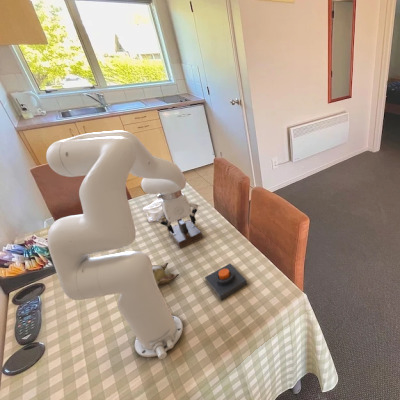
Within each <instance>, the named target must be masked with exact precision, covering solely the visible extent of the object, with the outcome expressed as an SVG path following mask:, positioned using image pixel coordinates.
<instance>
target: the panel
mask: <svg viewBox="0 0 400 400" xmlns="http://www.w3.org/2000/svg"><path fill="white" fill-rule="evenodd" d="M184 222H185V223H186V226H187V229H188V232H187V233H185V234H184V233H183V232H182V230H181V229H180V227H179V225H178V224H175V225H173V226H172V228H173V231H174V233H173V234H172V232H171V231H170V232H169V230H168V229H167V231H168V234H169V235H170V236H171V238H172V239H173V240H174V242H175V243H176V244H177V246H178V247H179V248H180V249H182V248H183V247H187V246H188V245H190V244H193V243H194V242H197V241H199V240H201V239H203V238H204V235H203V232H202V231H201V230H200V229H199V228H198V227H197V226H196V224H193V223H192V222H191V219H187V220H185V221H184Z"/></svg>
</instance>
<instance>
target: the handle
mask: <svg viewBox="0 0 400 400" xmlns="http://www.w3.org/2000/svg"><path fill="white" fill-rule="evenodd" d="M176 222H177V225H179V227H180V229H181V230H182V232H183V233H184V234H185V233H187V232H188V229H187V226H186V223H185V221H184V220H183V218H181V219H179V220H176Z"/></svg>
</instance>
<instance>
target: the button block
mask: <svg viewBox="0 0 400 400" xmlns="http://www.w3.org/2000/svg"><path fill="white" fill-rule="evenodd" d="M222 269H228V270H229V273H230V276H229V277H228V278H227V279H224V280H222V279H220V278H219V274H218V273H219V271H220V270H222ZM205 282H206V283H207V285H208V286H209V287H210V288H211V290H212V291H213V292H214V294H216V296H217V297H218V299H220V301H223V300H225V299H227V297H228V298H229V297H230V296H231V295H232V294H235V293H236V292H238V291H239V290H241V289H243V288H244V287H245V286H247V285H248V282H247V279H246V278H245V277H244V276H243V275H242V274H241V273H240V272H239V271H238V270H237V268H236V267H234V265H232V263H228V264H226V265H224V266H223V267H220V268H219V269H217V270H215V271H214V272H212V273H210V274H208V275H206V276H205Z"/></svg>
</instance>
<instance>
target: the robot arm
mask: <svg viewBox="0 0 400 400" xmlns="http://www.w3.org/2000/svg"><path fill="white" fill-rule="evenodd" d="M45 158H46V162H47V164H48V167H50V168H51V171H53V172H55V173H56V174H57V175H59V176H63V177H67V178H74V177H83V176H84V178H83V180H82V182H81V184H80V186H79V191H78V195H79V196H78V197H79V200H80V205H81V208H82V213H80V214H74V215H73V214H72V215H68V216H63V217H60V218H59V219H57V220H55V221H54V222H53V223H52V224H51V225H50V227H49V228H48V231H47V235H46V242H47V248H48V251H49V252H48V253H49V256H50V258H51V261H52V264H53V265H54V266H53V267H54V269H55V272H56V275H57V278H58V281H59V284H60V286H61V289H62V291H63V293H64V294H65V295H66V296H67V297H68V298H69V299H71V300H74V301H84V300H89V299H90V300H91V299H96V298H100V297H105V296H111V295H116V294H117V295H118V294H120V295H119V297H118V300H117V308H118V311H119V312H120V314H121V315H122V317H123V318H124V320H125V321H126V323H127V325H128V327H129V328H130V329H131V331H132V333H133V334H134V336H135V340H134V349H135V352H136V353H137V354H138V355H139V356H140V357H143V358H153V357H157V358H158V360H164V359H165V358H166V357H167V356H168V354H167V352H168V351H169V350H171V349H173V348H174V347H175V345H176V343H178V341H179V340H180V338H181V336H182V335H183V331H184V325H183V322H182V320H181V318H180V317H178V316H175V315H172V313H171V311H170V308H169V306H168V305H167V302H166V300H165V298H164V295H163V294H162V292H161V289H160V288H159V285H157V283H156V280H155V277H154V273H153V268H152V265H153V263H152V260H151V258H150V256H149V255H148V254H147V253H145V252H143V251H140V250H139V251H138V250H137V251H136V250H133V251H131V250H130V251H129V250H128V251H123V252H117V253H110V254H106V255H101V256H100V255H99V256H94V257H91V256H90V255H92V254H98V253H104V252H109V251H114V250H119V249H123V248H126V247H128V246H130V245H132V244H133V243H134V242H135V240H136V237H137V236H136V235H137V234H136V226H135V221H134V218H133V214H132V210H131V207H130V203H129V199H128V195H127V182H128V177H129V175H131V176H134V177H137V178H141V179H142V180H141V183H140V186H141V189H142V191H143V192H144V193H145V194H148V195H156V194H158V195H156V198H157V199H159V198H161V203H160V204H161V205H162V206H161V207H162V209H163V213H162V214H161V215H160V216H159V217H158V218H157V219H156V221H155V222H156V223H159V224H160V225H162V226H165V227H166V229H167V231H168V230H169V232H170V231H171V232H172V234H173V233H174V231H173V228H172V227H173V226H172V223H174V222H177V220H179V219H183V218H186V217H189V218H190V219H189V220H190V221H191V222H192V223H193V224H194V225H196V224H197V223H196V221H197V220H196V213H197V212H198V208H199V204H198V203H191V202H190V201H189V200H188V198H187V196H186V194H185V193H184V192H183V191H182V190H184V189H185V187H186V185H187V180H186V177H185V175H184V172H183V171H182V170H181V168H180V167H179V166H178V165H177V164H176V163H174V162H173V161H170V160H167V159H165V158H162V157H158V156H155V155H153V154H152V153H151V152H150V151H149V149H148V148H147V147H146V145H144V144H143V142H141V140H140V139H139V137H137V136H136V135H135V134H134V133H132V132H130V131H126V130H109V131H97V132H88V133H83V134H79V135H75V136H71V137H68V138H64V139H60V140H56V141H54V142H53V143H51V144H50V145H49V147H48V148H47V150H46V154H45ZM181 191H182V192H181ZM164 219H165V220H164ZM169 232H168V233H169Z"/></svg>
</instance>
